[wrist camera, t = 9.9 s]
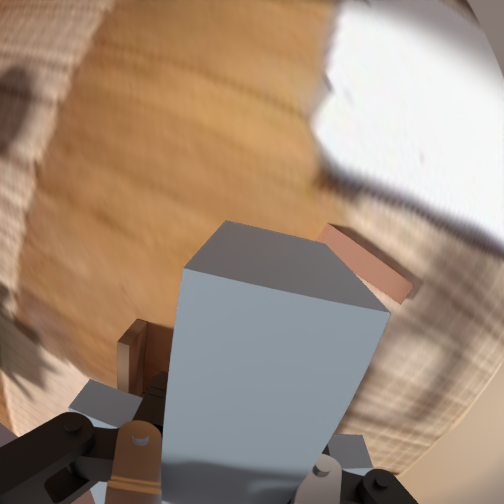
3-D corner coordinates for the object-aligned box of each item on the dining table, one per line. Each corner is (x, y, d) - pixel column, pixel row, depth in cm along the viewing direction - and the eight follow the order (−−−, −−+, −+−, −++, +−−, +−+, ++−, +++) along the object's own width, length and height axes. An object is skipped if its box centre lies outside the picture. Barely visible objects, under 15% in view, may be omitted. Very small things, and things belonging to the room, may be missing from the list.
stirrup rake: (96, 192, 11) (-21, 211, 5) (439, 273, 11) (536, 336, 5) (111, 498, 16) (88, 552, 10) (284, 534, 16) (286, 591, 10)
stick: (403, 277, 28) (414, 285, 26) (391, 295, 28) (400, 304, 26) (326, 222, 27) (332, 226, 25) (313, 242, 27) (318, 248, 25)
